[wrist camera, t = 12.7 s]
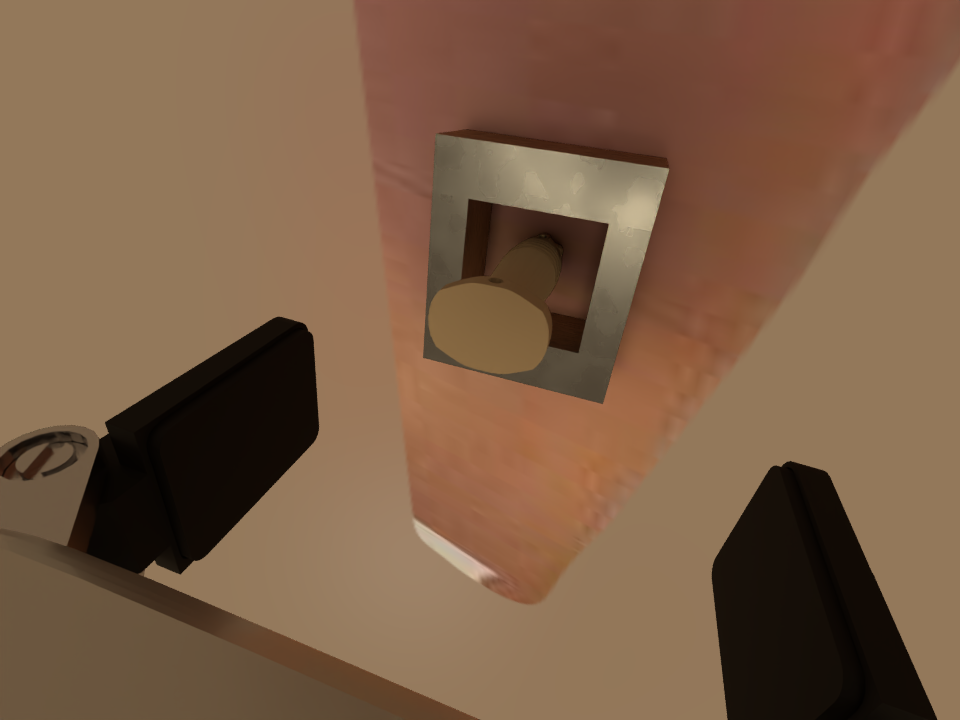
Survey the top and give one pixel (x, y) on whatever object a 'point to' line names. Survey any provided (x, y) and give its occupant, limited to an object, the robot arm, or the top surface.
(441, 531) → the top surface
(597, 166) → the socket block
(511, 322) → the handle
